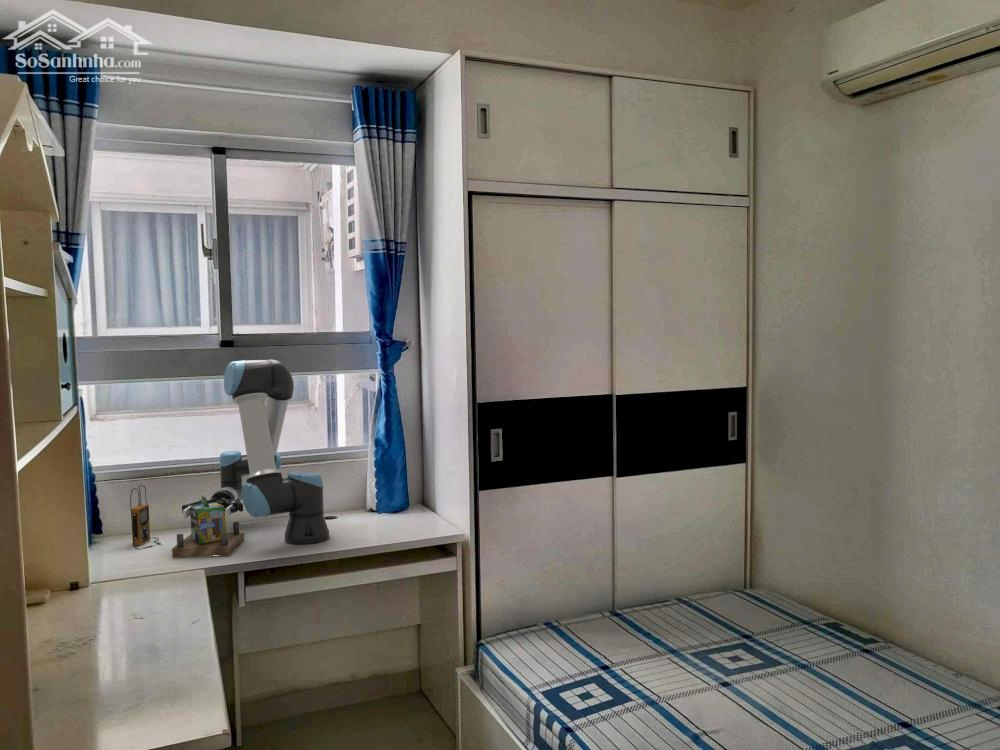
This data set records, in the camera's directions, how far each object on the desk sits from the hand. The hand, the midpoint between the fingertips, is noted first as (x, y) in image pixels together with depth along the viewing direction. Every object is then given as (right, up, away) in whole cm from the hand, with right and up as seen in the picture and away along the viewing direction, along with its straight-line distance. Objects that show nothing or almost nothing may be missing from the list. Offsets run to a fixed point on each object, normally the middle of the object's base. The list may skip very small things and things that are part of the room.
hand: (205, 513), depth 255 cm
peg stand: (0, -12, +4) cm, 13 cm away
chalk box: (0, -10, +3) cm, 10 cm away
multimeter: (-23, -13, +12) cm, 28 cm away
